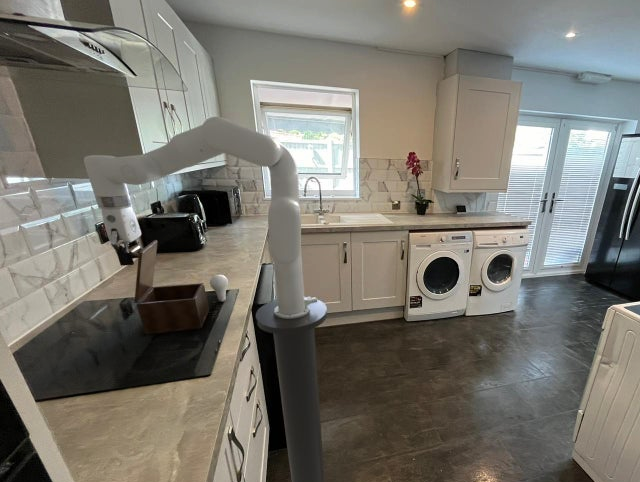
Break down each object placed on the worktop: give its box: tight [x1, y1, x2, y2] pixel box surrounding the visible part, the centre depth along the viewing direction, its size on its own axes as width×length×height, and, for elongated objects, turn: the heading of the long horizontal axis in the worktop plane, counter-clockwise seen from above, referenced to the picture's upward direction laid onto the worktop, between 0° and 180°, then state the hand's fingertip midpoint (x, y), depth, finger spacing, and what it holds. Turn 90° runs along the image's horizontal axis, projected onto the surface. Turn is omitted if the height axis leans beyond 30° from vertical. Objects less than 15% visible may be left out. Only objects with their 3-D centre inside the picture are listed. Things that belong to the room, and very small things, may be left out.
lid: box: [129, 239, 158, 304], centre depth 100 cm, size 16×14×5 cm
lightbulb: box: [209, 274, 229, 302], centre depth 123 cm, size 6×6×11 cm
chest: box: [135, 282, 210, 336], centre depth 108 cm, size 16×14×11 cm
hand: (132, 260), depth 99 cm, fingers closed on lid, 6 cm apart
